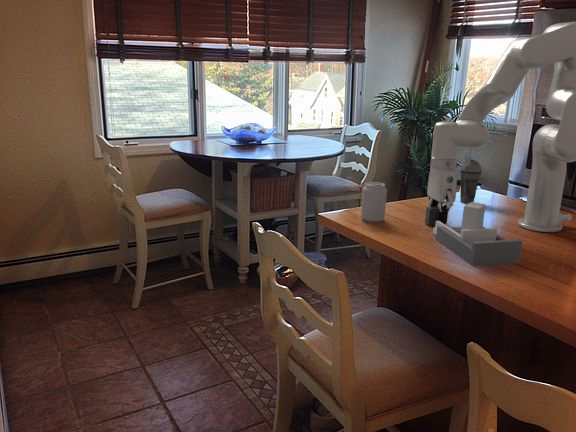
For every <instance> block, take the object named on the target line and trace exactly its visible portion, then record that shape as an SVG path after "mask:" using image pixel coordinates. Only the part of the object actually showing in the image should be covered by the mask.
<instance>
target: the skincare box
mask: <svg viewBox="0 0 576 432" xmlns="http://www.w3.org/2000/svg"><path fill="white" fill-rule="evenodd" d="M462 211H463V212H462V219H461V230H466V229H482V228H483V227H484V218H485V212H486V204H485V203H480V202H475V201H474V202H471V203H468V204H465V205H464V206H463V210H462ZM459 234H460V235H461V233H459Z"/></svg>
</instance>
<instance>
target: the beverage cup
mask: <svg viewBox="0 0 576 432" xmlns="http://www.w3.org/2000/svg"><path fill="white" fill-rule="evenodd" d="M468 149H469V155H468V156H469V157H468V158H469V159H467V160H465V161H464V162H463V163H462V165H461V167H460V170H459V171H460V172H459V173H460V200H459V201H460V203H461V204H465V205H467V204H468V203H471V202H475V199H476V194H477V189H478V184H479V179H480V177H481V174H482V167H481V166H482V165H481V164H480V163H479V162H478V161H477V160H475V159H472V148H468Z"/></svg>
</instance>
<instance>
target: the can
mask: <svg viewBox="0 0 576 432" xmlns="http://www.w3.org/2000/svg"><path fill="white" fill-rule="evenodd" d="M364 184H365V185H364V186H363V187H362V195H361V196H362V197H361V211H360V218H361V219H362V220H363V221H364V222H366V223H367V222H368V223H375V224H377V223H382V222H383V220H385V218H386V208H387V207H386V205H387V194H388V193H387V192H388V188H386V187H385V186H386V184H385V183H384V182H380V181H368V182H365V183H364Z"/></svg>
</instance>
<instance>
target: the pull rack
mask: <svg viewBox="0 0 576 432" xmlns="http://www.w3.org/2000/svg"><path fill="white" fill-rule="evenodd" d="M443 206H444V205H442V207H443ZM438 211H439V205H438V207H430V206H426V209H425V218H424V223H425V224H426V225H428V226H434V227H433V228H432V233H433V234H434V235H435V236H436V235H437V227H438V226H441V227H443V228H445V229H446V230H448V231H449V232H451V233H452V234H454V235H455V236H457V237H458V238H460V239H461V240H463V241H464V242H466V243H468V244H469V245H471V246H472V245H473V242H480V241H496V235H498V228H497V227H495V228H494V227H491V228H490V227H487V228H486V229H483V228H482V229H466V230H461V226H462V225H461V226H448V225H447V224H443V223H442V222H440V221H437V213H438ZM460 233H461V235H460Z"/></svg>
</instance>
